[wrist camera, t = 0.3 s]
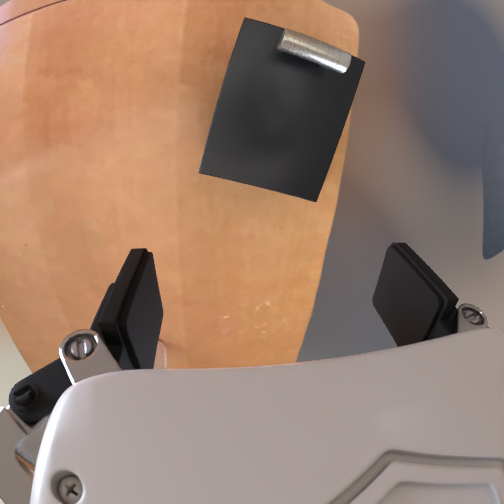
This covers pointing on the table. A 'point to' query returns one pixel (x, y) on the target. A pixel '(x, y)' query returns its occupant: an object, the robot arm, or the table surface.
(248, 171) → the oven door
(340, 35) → the table surface
